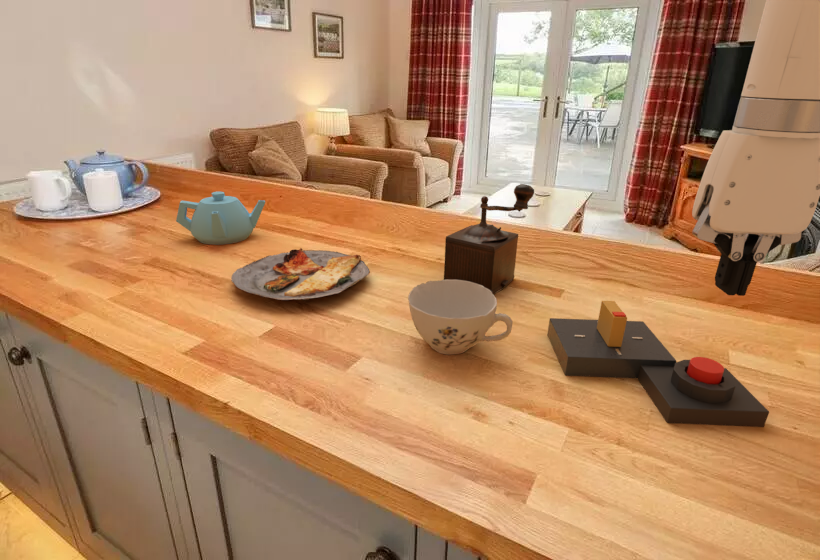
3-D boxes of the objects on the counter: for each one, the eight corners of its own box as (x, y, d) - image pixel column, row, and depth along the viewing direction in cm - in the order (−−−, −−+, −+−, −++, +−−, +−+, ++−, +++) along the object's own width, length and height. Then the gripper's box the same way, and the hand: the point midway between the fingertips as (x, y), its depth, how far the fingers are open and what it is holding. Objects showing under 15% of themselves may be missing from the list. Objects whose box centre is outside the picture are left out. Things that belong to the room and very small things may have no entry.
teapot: (228, 224, 126) (223, 182, 122) (271, 233, 119) (266, 190, 115) (175, 239, 114) (167, 194, 110) (219, 251, 107) (212, 203, 103)
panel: (639, 338, 75) (643, 320, 74) (671, 380, 65) (677, 359, 64) (547, 335, 75) (549, 317, 74) (564, 376, 65) (568, 355, 64)
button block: (721, 381, 65) (729, 355, 63) (764, 427, 56) (774, 398, 55) (637, 378, 65) (643, 352, 63) (667, 423, 57) (675, 394, 55)
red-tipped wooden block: (596, 328, 71) (602, 298, 70) (608, 328, 71) (614, 299, 70) (607, 346, 67) (614, 315, 65) (621, 347, 67) (628, 316, 65)
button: (710, 369, 61) (714, 357, 60) (726, 386, 58) (730, 373, 57) (681, 368, 61) (684, 356, 60) (695, 385, 58) (699, 372, 57)
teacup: (392, 355, 69) (392, 304, 66) (426, 318, 80) (428, 273, 77) (495, 382, 64) (501, 328, 61) (518, 339, 74) (524, 291, 71)
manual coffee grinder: (494, 298, 88) (503, 199, 81) (441, 283, 93) (446, 189, 86) (528, 272, 99) (539, 183, 92) (480, 260, 105) (486, 176, 98)
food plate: (294, 252, 108) (293, 237, 106) (388, 270, 99) (388, 254, 97) (207, 294, 87) (204, 275, 86) (316, 322, 78) (315, 302, 77)
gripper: (830, 117, 51) (775, 279, 58) (684, 114, 51) (647, 275, 59) (892, 124, 44) (822, 307, 51) (723, 120, 44) (676, 303, 52)
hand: (729, 290), depth 55 cm, fingers closed
